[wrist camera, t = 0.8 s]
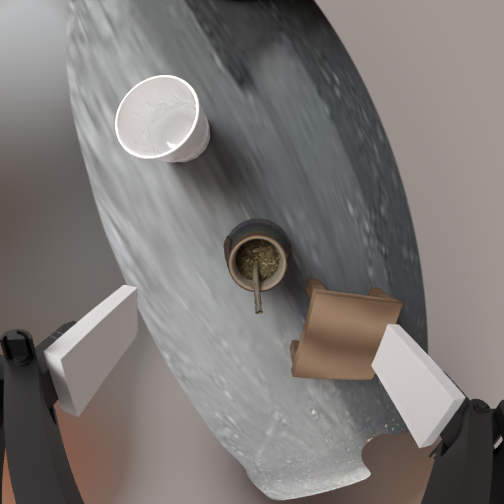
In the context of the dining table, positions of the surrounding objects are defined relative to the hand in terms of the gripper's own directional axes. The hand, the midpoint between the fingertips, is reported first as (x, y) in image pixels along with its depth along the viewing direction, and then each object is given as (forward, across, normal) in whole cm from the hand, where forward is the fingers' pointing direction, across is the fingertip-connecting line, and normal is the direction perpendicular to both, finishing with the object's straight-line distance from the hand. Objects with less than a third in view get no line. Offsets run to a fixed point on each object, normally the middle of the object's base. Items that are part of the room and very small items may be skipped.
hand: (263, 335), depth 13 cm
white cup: (+20, -11, +12) cm, 26 cm away
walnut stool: (+20, +12, -8) cm, 25 cm away
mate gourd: (+20, 0, 0) cm, 20 cm away
